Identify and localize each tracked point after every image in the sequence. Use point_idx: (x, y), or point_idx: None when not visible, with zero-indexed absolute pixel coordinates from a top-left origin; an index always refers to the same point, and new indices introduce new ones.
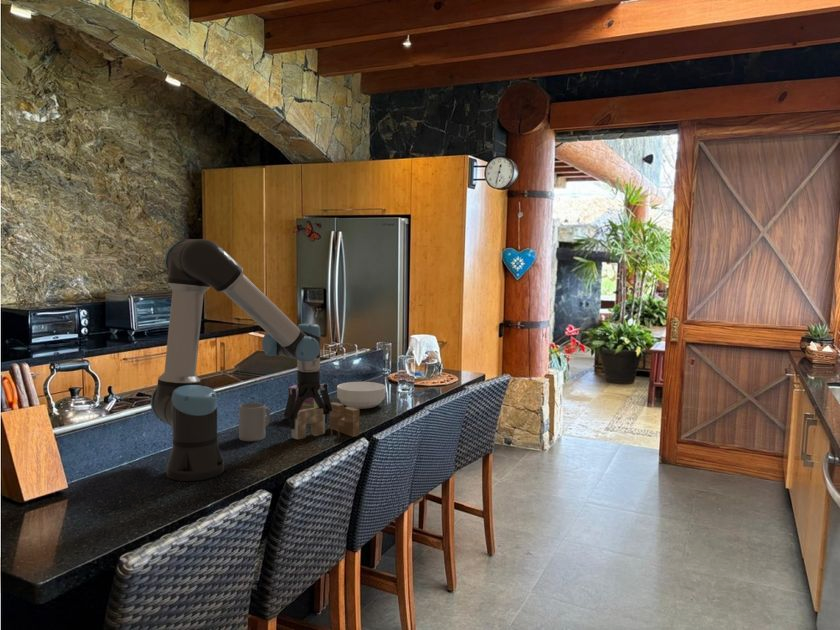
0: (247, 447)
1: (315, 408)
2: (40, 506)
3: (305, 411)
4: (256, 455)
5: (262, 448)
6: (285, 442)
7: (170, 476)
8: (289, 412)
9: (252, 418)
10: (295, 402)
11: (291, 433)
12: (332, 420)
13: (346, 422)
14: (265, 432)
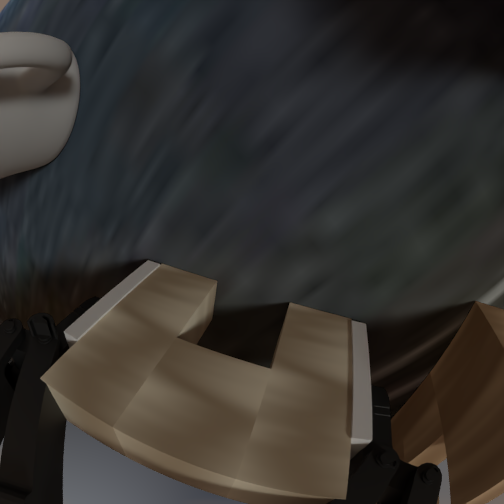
0: (6, 212)
1: (263, 496)
2: None
3: (124, 454)
4: (16, 293)
5: (29, 262)
6: (100, 283)
7: None
8: (10, 384)
9: None
10: (5, 445)
11: (133, 272)
12: (476, 368)
13: None
14: (50, 139)
